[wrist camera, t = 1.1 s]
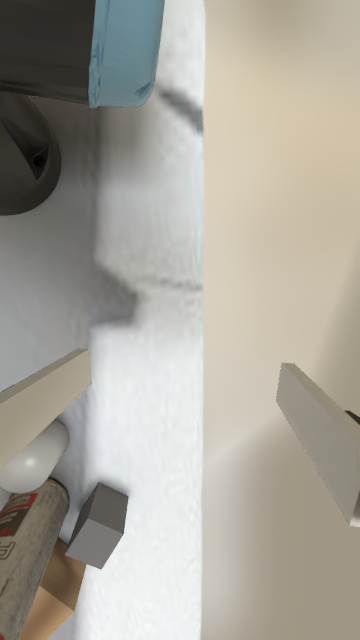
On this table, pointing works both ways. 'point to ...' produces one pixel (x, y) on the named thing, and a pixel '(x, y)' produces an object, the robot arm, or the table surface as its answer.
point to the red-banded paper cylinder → (27, 550)
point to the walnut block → (54, 594)
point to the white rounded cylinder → (35, 460)
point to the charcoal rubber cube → (98, 527)
